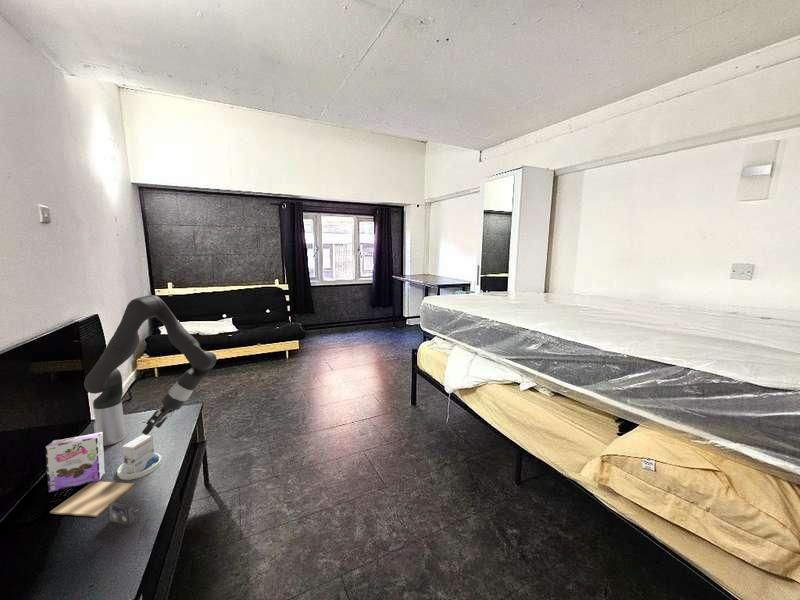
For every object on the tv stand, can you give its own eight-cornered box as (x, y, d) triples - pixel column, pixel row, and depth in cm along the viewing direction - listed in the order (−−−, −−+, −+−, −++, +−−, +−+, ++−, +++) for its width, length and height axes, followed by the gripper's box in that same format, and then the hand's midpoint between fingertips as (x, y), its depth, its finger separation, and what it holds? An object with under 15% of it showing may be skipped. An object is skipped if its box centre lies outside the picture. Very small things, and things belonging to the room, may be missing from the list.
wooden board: (49, 513, 103) (49, 511, 102) (93, 482, 116) (93, 480, 116) (96, 516, 102) (96, 515, 102) (134, 485, 116) (134, 483, 115)
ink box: (145, 459, 129) (143, 433, 128) (156, 461, 128) (153, 435, 127) (124, 474, 121) (120, 446, 119) (134, 476, 120) (131, 448, 118)
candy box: (47, 493, 110) (44, 446, 109) (56, 484, 115) (52, 440, 115) (99, 480, 116) (96, 437, 116) (105, 472, 121) (102, 430, 121)
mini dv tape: (135, 522, 100) (133, 506, 99) (130, 526, 99) (128, 509, 98) (115, 517, 102) (113, 500, 101) (110, 520, 100) (108, 504, 100)
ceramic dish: (108, 478, 119) (108, 474, 118) (139, 456, 132) (138, 452, 131) (141, 480, 118) (141, 476, 118) (169, 457, 131) (169, 453, 131)
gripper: (178, 386, 135) (152, 419, 132) (160, 393, 122) (131, 431, 119) (193, 396, 136) (168, 429, 133) (178, 404, 122) (149, 441, 119)
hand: (150, 430), depth 126 cm, fingers open, 8 cm apart
